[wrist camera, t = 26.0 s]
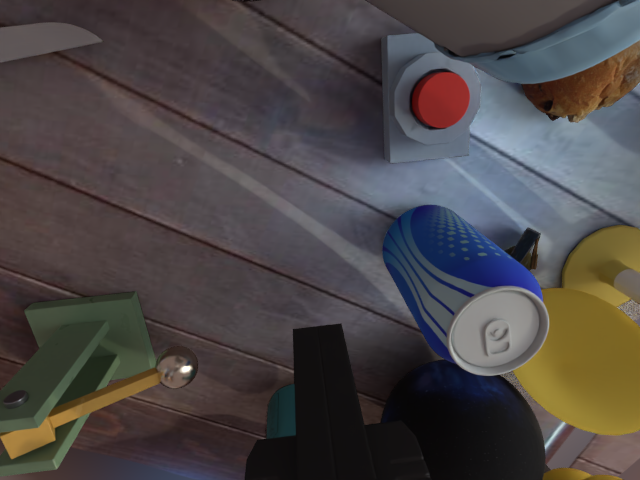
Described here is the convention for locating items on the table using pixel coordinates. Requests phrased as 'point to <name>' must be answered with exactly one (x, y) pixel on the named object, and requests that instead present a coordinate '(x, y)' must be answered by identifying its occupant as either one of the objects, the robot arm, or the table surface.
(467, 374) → the decorative sphere
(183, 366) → the latch lever
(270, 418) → the beverage bottle
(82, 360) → the bracket
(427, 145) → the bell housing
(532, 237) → the hand grenade
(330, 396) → the robot arm
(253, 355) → the table surface
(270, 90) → the table surface
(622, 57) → the bread roll
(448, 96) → the bell button
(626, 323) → the decorative vessel
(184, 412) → the table surface
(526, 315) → the beer can
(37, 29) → the kitchen knife
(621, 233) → the candle
